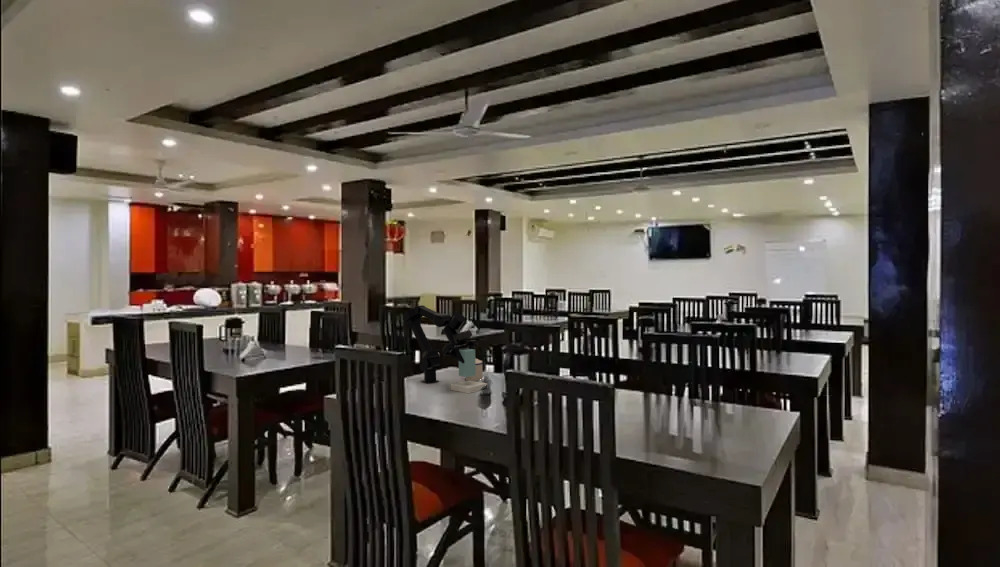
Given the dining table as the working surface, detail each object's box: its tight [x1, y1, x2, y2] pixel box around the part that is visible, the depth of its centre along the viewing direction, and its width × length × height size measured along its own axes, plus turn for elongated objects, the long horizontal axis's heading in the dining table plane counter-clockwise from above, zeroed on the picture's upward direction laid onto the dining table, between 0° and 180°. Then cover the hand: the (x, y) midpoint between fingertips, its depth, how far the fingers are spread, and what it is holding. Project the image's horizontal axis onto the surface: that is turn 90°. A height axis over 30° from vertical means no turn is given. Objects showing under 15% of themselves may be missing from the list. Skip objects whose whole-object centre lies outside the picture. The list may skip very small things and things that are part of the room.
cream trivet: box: [450, 380, 488, 394], centre depth 278 cm, size 12×12×2 cm
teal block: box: [458, 349, 476, 378], centre depth 276 cm, size 5×6×12 cm
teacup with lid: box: [465, 356, 484, 382], centre depth 301 cm, size 12×9×12 cm
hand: (468, 361), depth 276 cm, fingers closed on teal block, 6 cm apart
